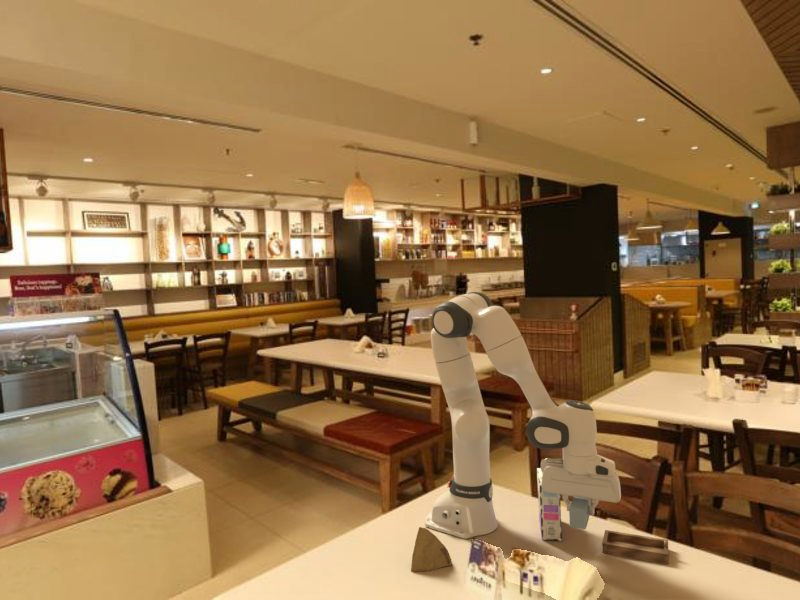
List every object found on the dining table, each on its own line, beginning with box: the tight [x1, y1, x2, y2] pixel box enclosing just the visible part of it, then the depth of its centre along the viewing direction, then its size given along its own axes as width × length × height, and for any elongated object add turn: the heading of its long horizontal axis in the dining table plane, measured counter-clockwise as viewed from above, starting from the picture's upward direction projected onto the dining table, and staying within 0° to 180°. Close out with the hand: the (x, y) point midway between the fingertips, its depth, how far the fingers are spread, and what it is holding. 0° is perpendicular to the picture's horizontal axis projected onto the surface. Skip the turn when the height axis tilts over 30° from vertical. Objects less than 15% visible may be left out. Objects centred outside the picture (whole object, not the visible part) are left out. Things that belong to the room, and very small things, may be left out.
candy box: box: [536, 467, 563, 542], centre depth 156 cm, size 14×6×16 cm, turn 168°
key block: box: [568, 496, 592, 530], centre depth 141 cm, size 4×12×5 cm, turn 154°
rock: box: [410, 526, 453, 573], centre depth 139 cm, size 11×9×10 cm
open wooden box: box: [601, 529, 670, 565], centre depth 142 cm, size 16×8×4 cm, turn 63°
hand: (580, 512), depth 141 cm, fingers closed on key block, 4 cm apart
